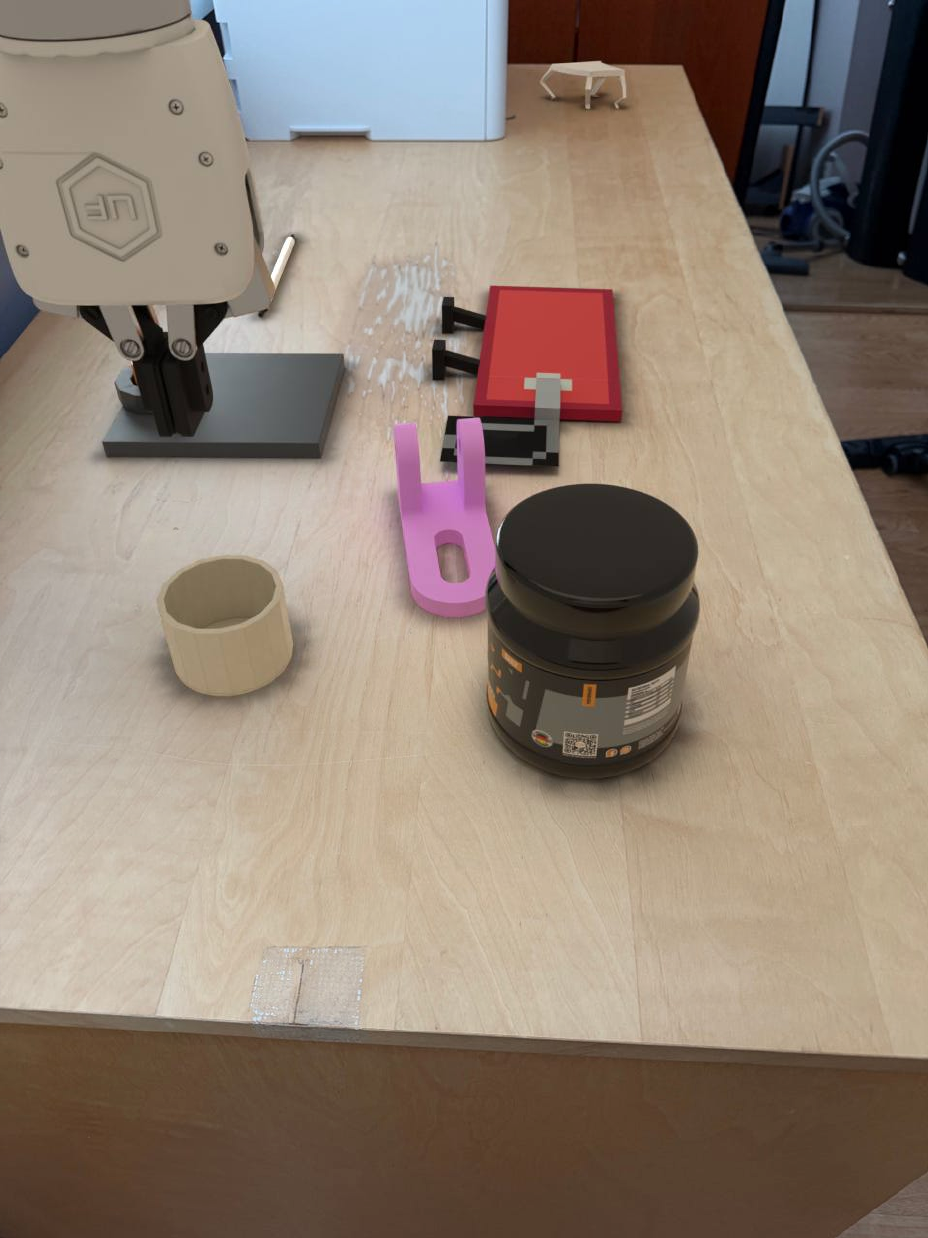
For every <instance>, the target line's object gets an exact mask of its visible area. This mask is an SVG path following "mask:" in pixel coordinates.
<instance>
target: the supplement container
mask: <svg viewBox="0 0 928 1238" xmlns="http://www.w3.org/2000/svg"><path fill="white" fill-rule="evenodd" d="M494 546H495V567H494V569H493V570H492V572H491V574H490V576H489V579H488V581H487V585H486V590H485V610H484V611H485V615H486V618H487V683H486V689H485V690H486V691H485V692H486V693H485V694H486V695H485V697H486V698H485V700H486V709H487V712H488V718H489V720H490V722H491V725H492V727H493V729H494V730H495V732H496V734H497V736H498V737H499V739H500V740H501V741H502V742H503V744H504V745H505V746H506V747H507V748H508V749H509V750H510V751H511V752H512V753H514V754H515V755H516V756H517V757H519V758H520V759H522V760H523V761H525V762H527V763H528V764H530V765H532V766H534V767H536V768H538V769H541V770H543V771H546V772H549V773H551V774H555V775H558V776H563V777H568V778H576V779H577V778H578V779H604V778H609V777H614V776H619V775H623V774H626V773H629V772H632V771H634V770H637V769H639V768H641V767H642V766H644V765H646V764H648V763H650V762H651V761H653V760H654V759H655V758H657V757H658V756H659V754H661V753H662V752H663V751H664V750H665V748H666V747H667V746H668V745H669V744H670V743H671V741H672V739H673V738H674V737H675V734H676V732H677V730H678V727H679V725H680V721H681V717H682V711H683V696H684V689H685V685H686V679H687V673H688V668H689V661H690V655H691V649H692V644H693V638H694V635H695V632H696V631H697V627H698V624H699V621H700V613H701V600H700V595H699V591H698V587H697V585H696V582H695V578H696V571H697V565H698V559H699V543H698V539H697V536H696V534H695V531H694V529H693V528H692V526H691V524H690V523H689V522H688V521H687V519H686V518H685V517H684V516H683V515H682V514H681V513H679V512H678V511H677V510H676V509H675V508H674V507H672V506H671V505H669V504H668V503H666V502H664V501H663V500H661V499H659V498H657V497H655V496H653V495H651V494H649V493H645V492H644V491H640V490H637V489H633V488H631V487H626V486H621V485H615V484H607V483H573V484H566V485H560V486H556V487H552V488H548V489H544V490H541V491H539V492H537V493H534V494H532V495H530V496H528V497H527V498H525V499H523V500H521V501H520V502H518V503H517V504H515V505H514V506H513V507H511V509H510V510H509V511H508V512H507V513H506V514H505V515H504V516H503V518H502V520H501V521H500V523H499V525H498V527H497V529H496V534H495V540H494Z"/></svg>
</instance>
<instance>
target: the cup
mask: <svg viewBox="0 0 928 1238" xmlns="http://www.w3.org/2000/svg"><path fill="white" fill-rule="evenodd" d="M156 605H157V609H158V610H157V611H158V614H159V617H160V621H161V625H162V629H163V632H164V636H165V639H166V643H167V646H168V650H169V654H170V657H171V660H172V665H173V667H174V672H175V674H176V675H177V677H178V678H179V680H180V681H181V682H182V683H183V684H184V685H185V686H186V687H187V688H189V689H191V690H192V691H195V692H197V693H200V694H203V695H206V696H207V695H208V696H212V697H233V696H239V695H240V696H241V695H244V694H248V693H252V692H254V691H257V690H259V689H262V688H264V687H265V686H267V685H269V684H270V683H272V682H273V681H274V680H276V679H277V678H278V677H280V676H281V674H282V673H283V672H284V671H285V670H286V669H287V667H288V665H289V664H290V662H291V660H292V657H293V652H294V641H293V635H292V634H293V633H292V629H291V623H290V616H289V612H288V605H287V599H286V592H285V588H284V584H283V581H282V579H281V576H280V573H279V571H278V570H277V569H275V568H274V567H273V566H272V565H270V564H269V563H268V562H266V561H265V560H262V559H260V558H256V557H252V556H249V555H246V554H219V555H214V556H210V557H206V558H201V559H198V560H195V561H193V562H192V563H191V562H190V563H189V564H187V565H185V566H183V567H181V568H179V569H177V570H176V571H175V572H174V573H172V575H170V576H169V578H167V579H166V580H165V581H164V582H163V583H162V585H161V587H160V590H159V592H158V595H157V597H156Z"/></svg>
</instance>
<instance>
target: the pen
mask: <svg viewBox="0 0 928 1238" xmlns="http://www.w3.org/2000/svg"><path fill="white" fill-rule="evenodd" d="M295 238H296V237H295V234H294V233H293V234H290V235H289V236H287V238H286V239H285V242H284V244H283V245H282V249H281V250H280V251H281V252H280V253H279V256H278V258H277V261H276V263H275V265H274V268H273V270H272V272H271V274H270V275H271V278H272V280H273V283H274V285H275V292H276V290H277V288H278V285H279V284H280V280H281V278H282V275H283V273H284V271H285V268H286V266H287V264H288V261H289V258H290V256H291V253H292V250H293V249H294V246H295V243H296V239H295ZM269 309H270V306H269V307H268V308H267V309H265V310H262V311H258V312H257V316H258V317H259V318H262V317H263V315H264V312H268V310H269Z"/></svg>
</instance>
